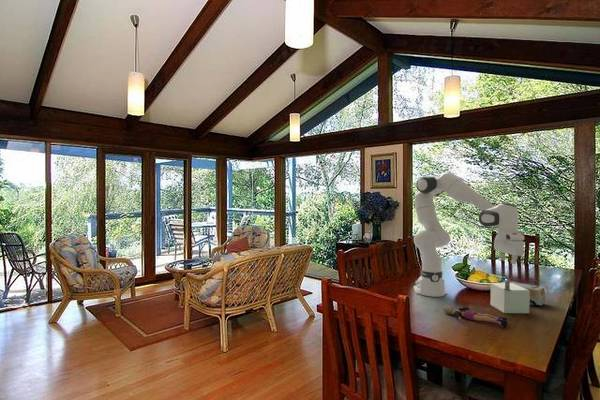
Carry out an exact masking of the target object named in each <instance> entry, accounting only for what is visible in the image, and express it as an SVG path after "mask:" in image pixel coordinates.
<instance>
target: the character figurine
mask: <svg viewBox="0 0 600 400" xmlns="http://www.w3.org/2000/svg"><path fill="white" fill-rule="evenodd" d="M472 310H473V307H472V306H470V307H469V306H468V307H458V308H454V309H453V308H452V307H450V306H444V307H443V311H444V312H445V314H447V315H449V316H450V315H452V316H454V317H456V318H458V320H459V321H460V322H461V321H462V317H463V318H465V319H467V320H469V321H474V322H475V321H479V322H480V321H481V322H483V321H485V322H491V323H496V324H499V325H500V326H501V328H502V329H505V328H506V326H507V325H508V318H506V317H502V316H499V317H498V316H494V315H493V314H492V315H491V314H489V313H488V314H487V313H484V314H482V313H479V312H476V311H474V310H473V311H472ZM463 311H464V312H463Z"/></svg>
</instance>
